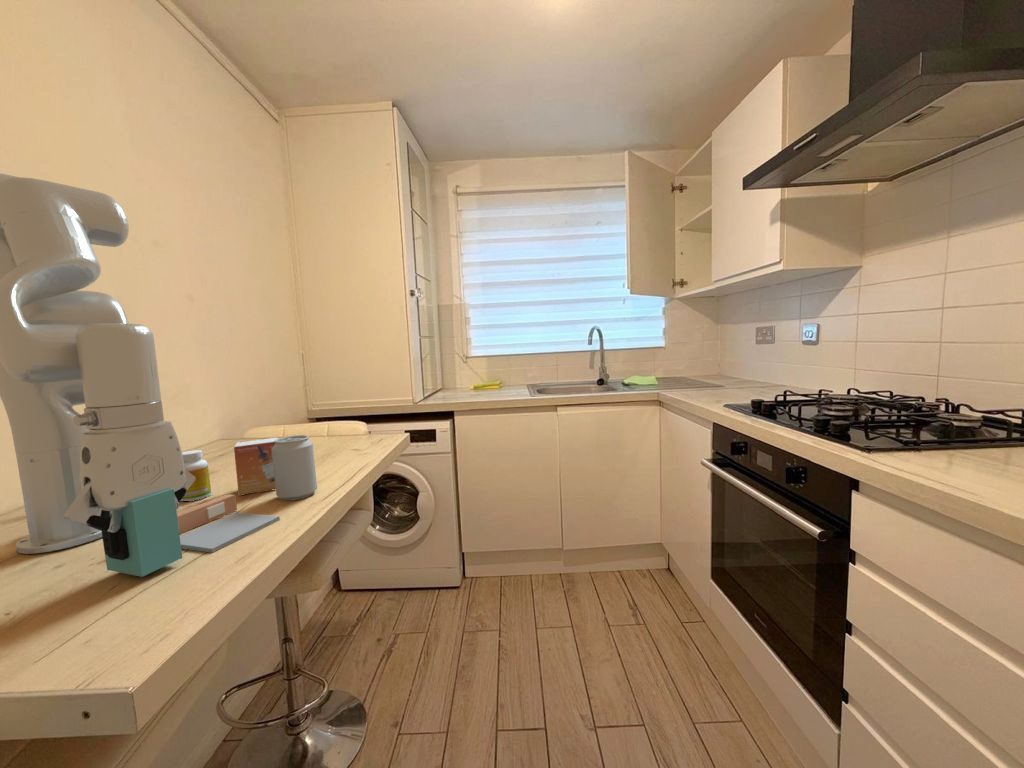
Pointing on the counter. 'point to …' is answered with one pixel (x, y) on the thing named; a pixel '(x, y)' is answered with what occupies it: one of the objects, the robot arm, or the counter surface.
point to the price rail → (206, 512)
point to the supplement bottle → (196, 475)
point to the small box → (254, 466)
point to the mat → (225, 531)
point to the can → (294, 467)
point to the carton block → (149, 535)
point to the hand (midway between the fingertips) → (144, 546)
